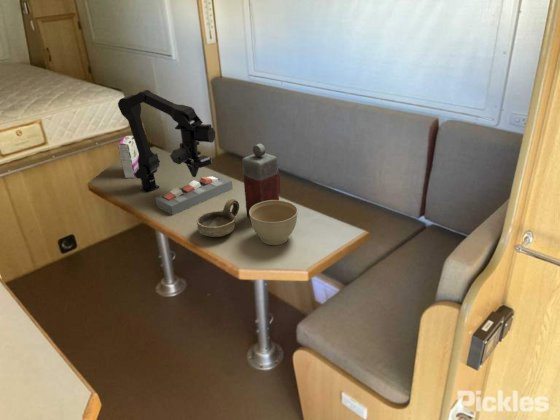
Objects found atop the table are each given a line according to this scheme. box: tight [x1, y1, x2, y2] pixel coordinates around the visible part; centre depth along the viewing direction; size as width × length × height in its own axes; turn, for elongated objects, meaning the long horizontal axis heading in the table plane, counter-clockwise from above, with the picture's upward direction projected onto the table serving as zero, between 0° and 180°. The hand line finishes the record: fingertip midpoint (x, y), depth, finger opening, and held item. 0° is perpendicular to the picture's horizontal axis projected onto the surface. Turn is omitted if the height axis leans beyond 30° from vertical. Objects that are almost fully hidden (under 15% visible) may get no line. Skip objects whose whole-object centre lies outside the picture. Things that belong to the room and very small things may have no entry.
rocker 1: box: [163, 186, 183, 201], centre depth 187 cm, size 4×6×2 cm, turn 136°
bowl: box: [196, 198, 240, 238], centre depth 166 cm, size 14×18×10 cm
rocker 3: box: [199, 176, 218, 184], centre depth 198 cm, size 4×6×2 cm, turn 136°
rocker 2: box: [182, 179, 201, 193], centre depth 192 cm, size 4×6×2 cm, turn 136°
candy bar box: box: [117, 135, 139, 179], centre depth 214 cm, size 11×5×16 cm, turn 179°
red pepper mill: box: [241, 143, 282, 218], centre depth 171 cm, size 9×11×28 cm
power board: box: [155, 173, 233, 216], centre depth 192 cm, size 11×30×4 cm, turn 136°
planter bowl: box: [249, 199, 299, 246], centre depth 160 cm, size 16×16×11 cm
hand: (194, 176), depth 192 cm, fingers closed
